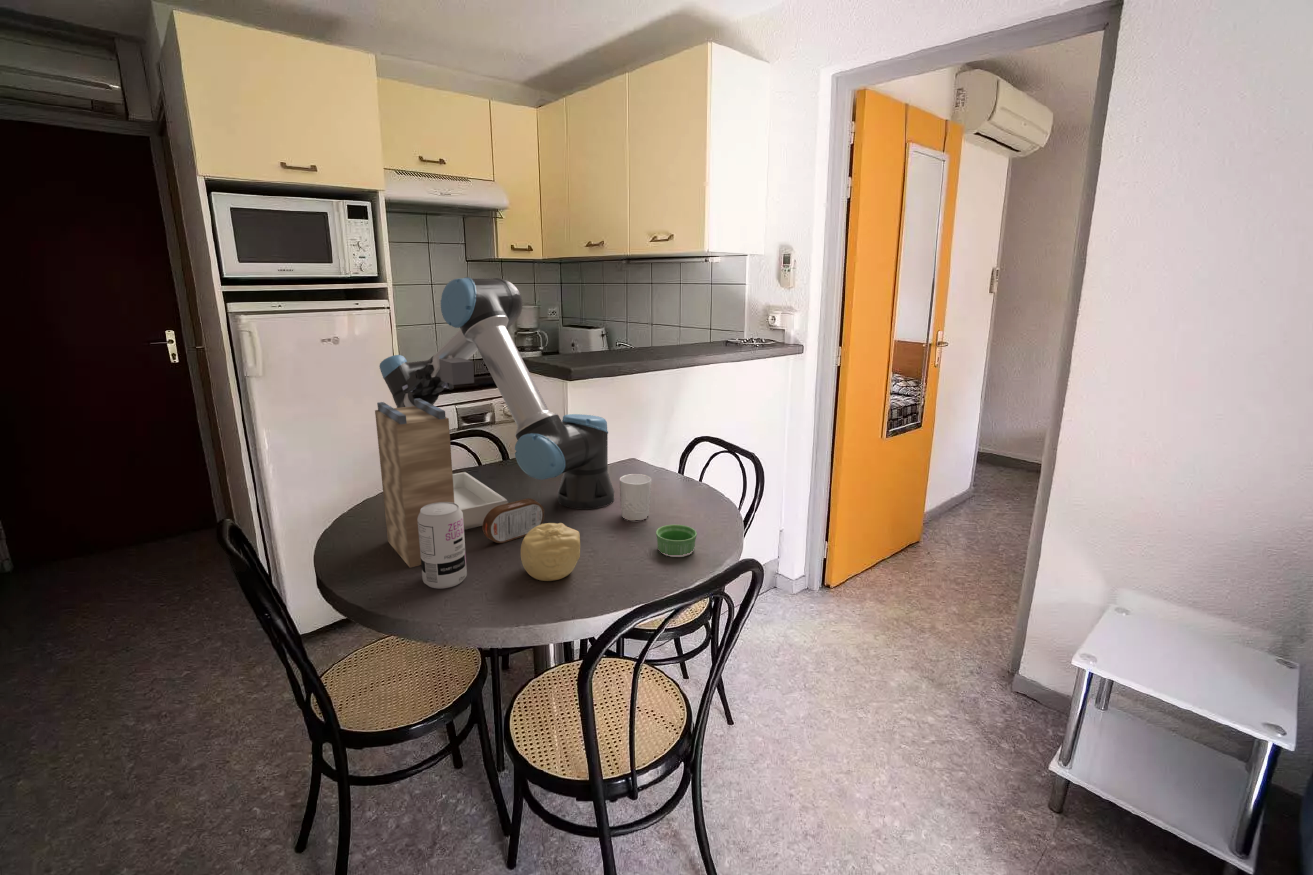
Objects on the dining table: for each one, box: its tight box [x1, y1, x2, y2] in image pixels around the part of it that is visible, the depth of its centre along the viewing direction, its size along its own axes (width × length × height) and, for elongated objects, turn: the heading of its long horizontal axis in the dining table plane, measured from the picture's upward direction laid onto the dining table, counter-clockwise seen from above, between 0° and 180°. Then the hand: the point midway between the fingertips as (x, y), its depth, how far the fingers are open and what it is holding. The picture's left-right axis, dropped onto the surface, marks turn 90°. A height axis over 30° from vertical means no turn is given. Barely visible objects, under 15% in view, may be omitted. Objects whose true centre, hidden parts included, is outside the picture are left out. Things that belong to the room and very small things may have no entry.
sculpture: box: [520, 522, 581, 582], centre depth 123 cm, size 11×12×11 cm
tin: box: [482, 497, 545, 544], centre depth 140 cm, size 15×3×8 cm, turn 135°
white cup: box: [619, 473, 652, 521], centre depth 153 cm, size 8×8×10 cm
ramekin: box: [655, 524, 698, 555], centre depth 135 cm, size 9×9×4 cm
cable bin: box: [452, 471, 509, 531], centre depth 157 cm, size 28×14×5 cm, turn 38°
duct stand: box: [374, 398, 454, 569], centre depth 131 cm, size 16×10×32 cm, turn 38°
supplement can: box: [417, 502, 468, 589], centre depth 119 cm, size 8×8×15 cm
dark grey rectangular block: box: [428, 358, 475, 386], centre depth 149 cm, size 20×5×5 cm, turn 38°
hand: (445, 361), depth 149 cm, fingers closed on dark grey rectangular block, 2 cm apart
